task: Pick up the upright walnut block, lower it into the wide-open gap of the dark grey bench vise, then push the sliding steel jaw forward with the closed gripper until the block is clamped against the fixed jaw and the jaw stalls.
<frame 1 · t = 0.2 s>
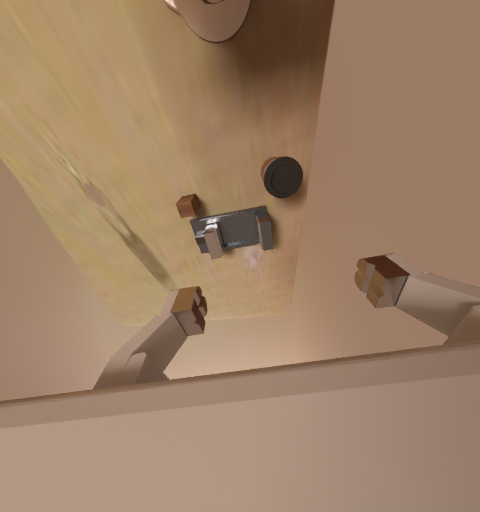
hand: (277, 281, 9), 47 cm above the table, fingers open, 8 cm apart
coffee cup: (271, 170, 50), on the table
jaw: (207, 241, 55), point 6 cm above the table, slide at 0.0 cm
block: (191, 201, 53), on the table
vise: (231, 229, 59), on the table
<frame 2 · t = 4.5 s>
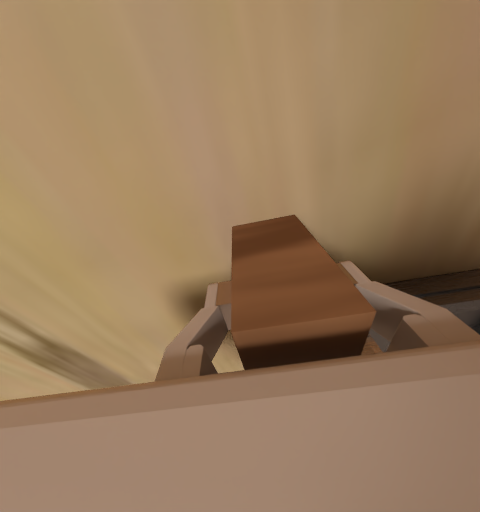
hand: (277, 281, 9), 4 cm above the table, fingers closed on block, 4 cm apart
jaw: (325, 402, 14), point 5 cm above the table, slide at 0.0 cm
block: (266, 247, 12), on the table, touching gripper
vise: (377, 326, 18), on the table
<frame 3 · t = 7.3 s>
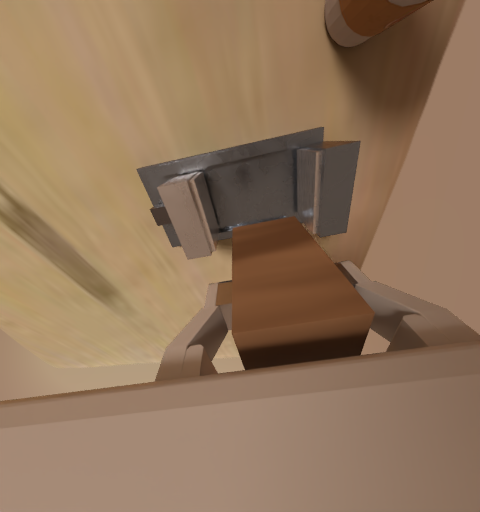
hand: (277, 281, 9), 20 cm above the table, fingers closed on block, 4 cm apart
coffee cup: (354, 2, 17), on the table
jaw: (178, 216, 22), point 6 cm above the table, slide at 0.0 cm
block: (266, 248, 12), point 17 cm above the table, touching gripper
vise: (235, 194, 26), on the table
when the fingers open (6 cm above the table, at t = 10.1 s): block stays where it is, resting on vise.
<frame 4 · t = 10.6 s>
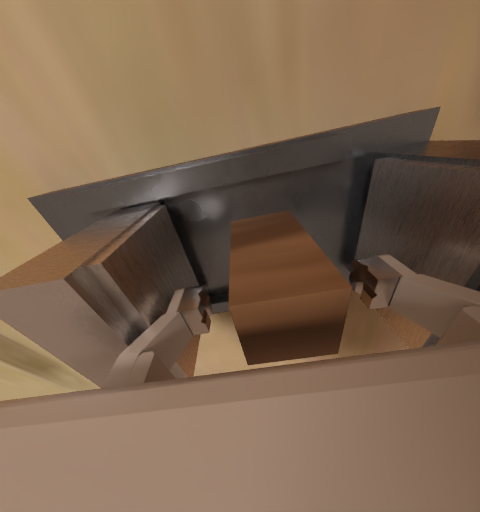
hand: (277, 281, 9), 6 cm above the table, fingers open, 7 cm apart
jaw: (113, 302, 10), point 6 cm above the table, slide at 0.0 cm, touching gripper
block: (263, 241, 13), point 1 cm above the table, touching vise
vise: (236, 237, 14), on the table
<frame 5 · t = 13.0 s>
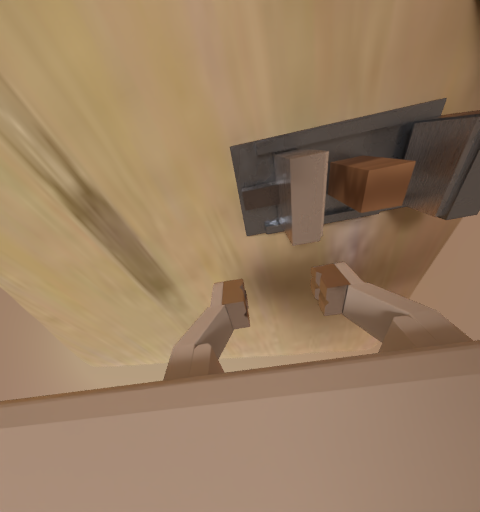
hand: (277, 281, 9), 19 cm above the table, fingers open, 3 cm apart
jaw: (278, 199, 20), point 6 cm above the table, slide at 0.0 cm
block: (344, 176, 23), point 1 cm above the table, touching vise
vise: (323, 177, 24), on the table
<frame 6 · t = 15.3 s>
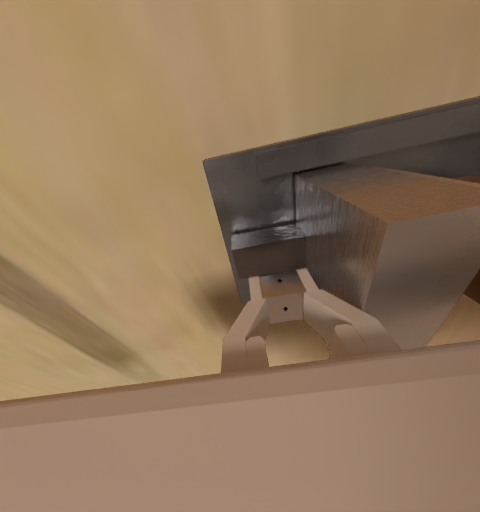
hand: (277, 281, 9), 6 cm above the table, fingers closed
jaw: (308, 271, 10), point 5 cm above the table, slide at 0.2 cm, touching gripper
block: (423, 212, 12), point 1 cm above the table, touching vise
vise: (378, 211, 14), on the table
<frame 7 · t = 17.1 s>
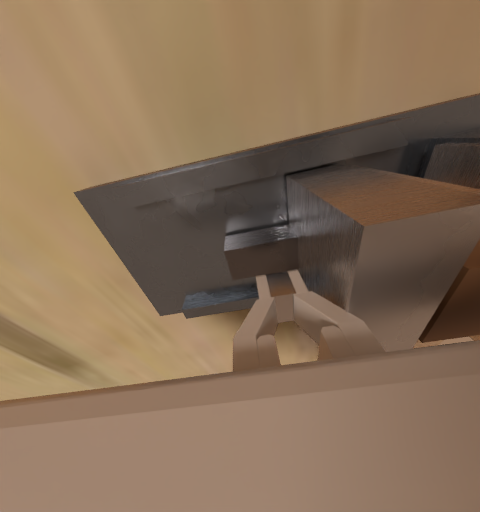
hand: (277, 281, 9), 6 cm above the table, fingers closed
jaw: (299, 272, 10), point 5 cm above the table, slide at 7.9 cm, touching block, gripper
block: (367, 221, 12), point 2 cm above the table, touching jaw, vise
vise: (272, 230, 14), on the table
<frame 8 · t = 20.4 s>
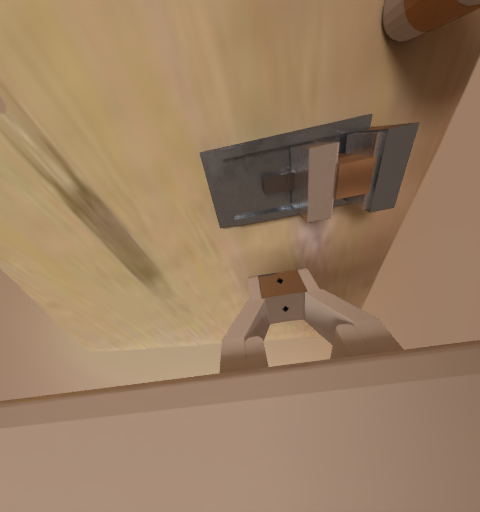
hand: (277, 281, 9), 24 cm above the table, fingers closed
coffee cup: (408, 2, 20), on the table
jaw: (295, 184, 24), point 5 cm above the table, slide at 7.9 cm
block: (326, 170, 27), point 1 cm above the table, touching vise
vise: (282, 177, 29), on the table
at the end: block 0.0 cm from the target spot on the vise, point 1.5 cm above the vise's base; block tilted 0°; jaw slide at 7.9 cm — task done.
